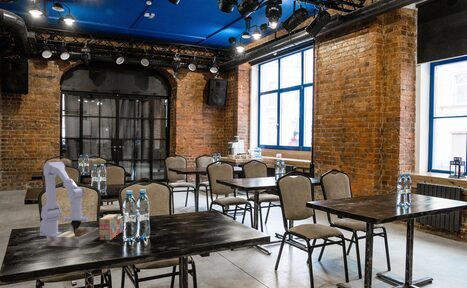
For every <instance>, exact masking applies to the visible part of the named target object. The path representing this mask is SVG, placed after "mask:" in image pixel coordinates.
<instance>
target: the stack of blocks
mask: <svg viewBox="0 0 467 288" xmlns="http://www.w3.org/2000/svg"><path fill="white" fill-rule="evenodd" d="M98 228H99V230H100V236H99V241H111V240H112V239H114V238H116V237H117V236H118V235H119V234H121V233H122V232H123V231H124V216H123V215H119V214H113V213H112V214H109V213H108V214H107V215H105V216H104V215H103V217H101V218H99V225H98ZM116 235H117V236H116Z"/></svg>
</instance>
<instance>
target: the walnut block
mask: <svg viewBox="0 0 467 288" xmlns="http://www.w3.org/2000/svg"><path fill="white" fill-rule="evenodd" d="M81 227H82V226H79V228H77V229H75V236H77V237H80V236H82V235H84V234H86V228H81Z"/></svg>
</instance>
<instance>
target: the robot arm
mask: <svg viewBox="0 0 467 288" xmlns="http://www.w3.org/2000/svg"><path fill="white" fill-rule="evenodd" d="M43 176H44V177H45V178H44V179H45V199H46V201H45V202H46V204H45V205H43V206H42V207H41V212H40V218H41V219H42V220H41V221H40V222H39V237H41V236H43V237H47V236H58V235H60V234H62V231H59V220H60V217H61V216H62V210H61V206H60V205H59V204H58V203H57V198H56V197H57V196H56V192H57V191H56V177H57V176H58V177H59V178H60V179H61V180H62V181H63V183H62V185H63V188H65V190H66V191H67V197H68V200H69V203H70V206H69V207H70V216H63V220H62V221H63V222H66V221H67V222H68V221H69V222H70V225H71V227H73V229H74V234H75V229H77V228H79V227H81V224H82V223H83V222H86V223H87V222H89V221H90V218H89V217H85V216H82V215H83V214H82V210H83V209H82V206H83V205H82V198H83V197H84V190H83V188H82V187H79V186H78V185H77V183H76V182H75V181H74V180H73V179H72V178H70V177H69V175H68V173H67V171H66V165H65V164H64V162H63V161H62V160H61V161H54V162H53V161H51V162H49V161H47V162H45V163H44V165H43Z"/></svg>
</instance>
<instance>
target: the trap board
mask: <svg viewBox="0 0 467 288" xmlns="http://www.w3.org/2000/svg"><path fill="white" fill-rule="evenodd" d="M80 227H81V228H86V234H84V235H82V236H80V237H77V236H75V234H74V229H73V227H72V226H69V230H67V231H65V232H63V233H62V232H61V233H60V234H58V235H55V236H46V246H48V247H49V246H50V247H51V246H52V247H66V248H67V247H69V248H70V247H71V248H73V247H74V248H80V247H83V246H84V245H86V244H88V243H89V242H92V241H94V240H96V239H98V238H100V230H99V227H84V226H83V227H82V226H80Z"/></svg>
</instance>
